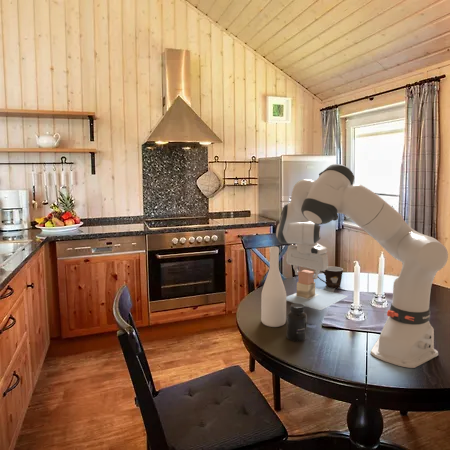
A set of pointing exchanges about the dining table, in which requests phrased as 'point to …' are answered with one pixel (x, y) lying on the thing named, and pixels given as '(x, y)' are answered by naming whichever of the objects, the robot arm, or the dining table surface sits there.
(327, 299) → the white rectangular board
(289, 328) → the supplement bottle
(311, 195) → the robot arm
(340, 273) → the coffee mug
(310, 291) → the maple block
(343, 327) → the dining table surface
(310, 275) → the terracotta cube
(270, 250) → the wine bottle
